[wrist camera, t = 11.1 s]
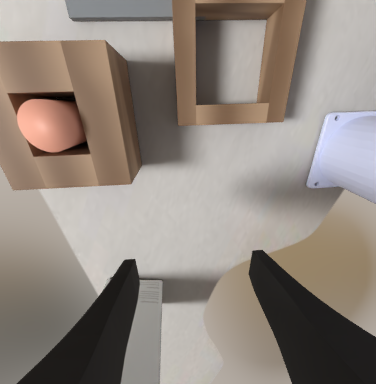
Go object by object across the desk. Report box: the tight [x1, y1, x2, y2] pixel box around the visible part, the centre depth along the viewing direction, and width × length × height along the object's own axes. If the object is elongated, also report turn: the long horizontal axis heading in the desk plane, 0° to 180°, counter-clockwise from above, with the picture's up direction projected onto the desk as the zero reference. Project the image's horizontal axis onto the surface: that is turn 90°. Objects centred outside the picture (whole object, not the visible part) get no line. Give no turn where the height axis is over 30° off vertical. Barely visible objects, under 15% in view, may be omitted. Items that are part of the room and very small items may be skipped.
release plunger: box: [17, 99, 87, 152], centre depth 14 cm, size 3×3×5 cm
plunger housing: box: [0, 40, 142, 190], centre depth 14 cm, size 9×9×5 cm
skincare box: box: [103, 279, 163, 384], centre depth 20 cm, size 8×6×15 cm
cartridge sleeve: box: [172, 0, 306, 126], centre depth 14 cm, size 9×9×2 cm
